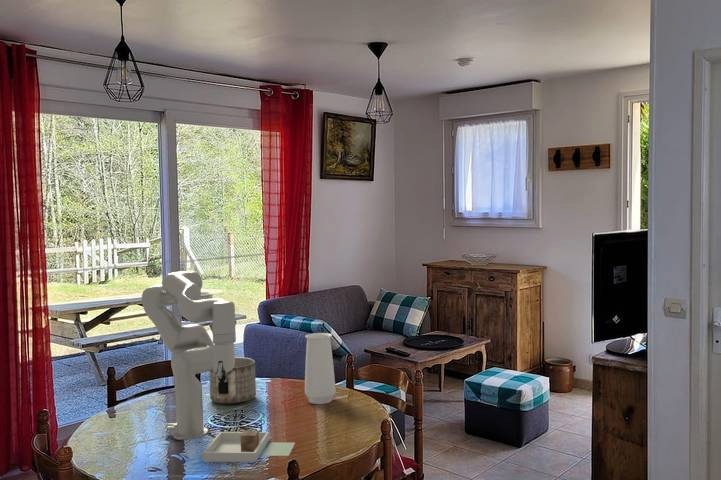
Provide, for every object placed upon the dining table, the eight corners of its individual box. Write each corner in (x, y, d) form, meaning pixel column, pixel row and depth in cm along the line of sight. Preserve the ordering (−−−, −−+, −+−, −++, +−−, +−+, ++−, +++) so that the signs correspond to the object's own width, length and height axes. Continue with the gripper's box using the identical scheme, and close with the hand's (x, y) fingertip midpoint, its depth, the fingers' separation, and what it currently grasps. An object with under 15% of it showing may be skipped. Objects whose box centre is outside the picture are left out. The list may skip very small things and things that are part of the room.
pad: (261, 457, 216) (261, 455, 216) (269, 444, 228) (269, 442, 227) (288, 457, 215) (288, 455, 215) (295, 444, 227) (295, 442, 227)
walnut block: (241, 453, 218) (240, 435, 218) (244, 447, 223) (244, 430, 223) (255, 453, 218) (255, 435, 217) (259, 447, 223) (258, 430, 222)
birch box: (216, 398, 218) (216, 374, 218) (221, 393, 223) (220, 370, 223) (231, 398, 218) (230, 374, 217) (235, 394, 223) (234, 370, 222)
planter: (206, 397, 286) (204, 360, 285) (249, 391, 294) (248, 355, 294) (216, 409, 269) (214, 370, 268) (261, 402, 277) (260, 364, 276)
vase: (319, 394, 287) (317, 331, 285) (342, 399, 278) (340, 334, 277) (298, 401, 277) (296, 336, 275) (321, 407, 268) (319, 339, 267)
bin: (202, 463, 212) (202, 452, 212) (220, 441, 231) (220, 431, 231) (255, 463, 210) (255, 452, 210) (269, 441, 230) (268, 431, 230)
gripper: (220, 332, 228) (222, 384, 229) (205, 343, 211) (207, 398, 212) (241, 332, 227) (243, 384, 228) (228, 343, 210) (229, 398, 211)
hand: (226, 390), depth 220 cm, fingers closed on birch box, 5 cm apart
